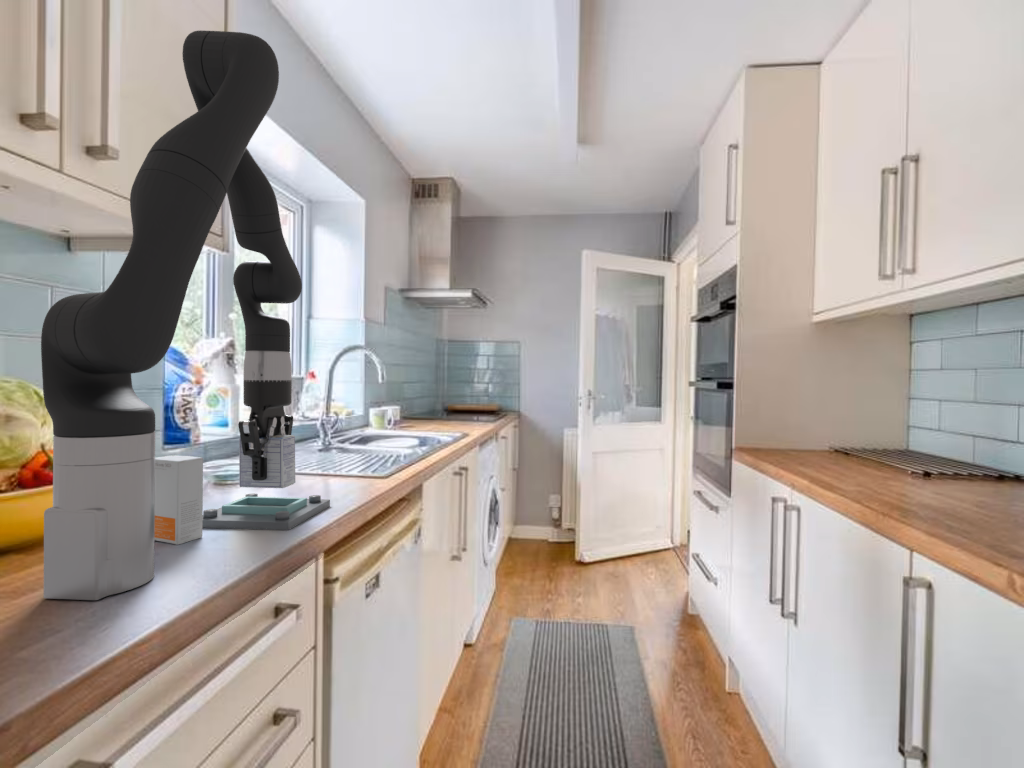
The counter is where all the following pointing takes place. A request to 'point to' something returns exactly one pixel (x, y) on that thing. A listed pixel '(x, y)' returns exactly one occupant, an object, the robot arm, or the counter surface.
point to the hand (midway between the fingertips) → (267, 476)
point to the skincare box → (178, 498)
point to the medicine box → (271, 464)
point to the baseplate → (264, 512)
